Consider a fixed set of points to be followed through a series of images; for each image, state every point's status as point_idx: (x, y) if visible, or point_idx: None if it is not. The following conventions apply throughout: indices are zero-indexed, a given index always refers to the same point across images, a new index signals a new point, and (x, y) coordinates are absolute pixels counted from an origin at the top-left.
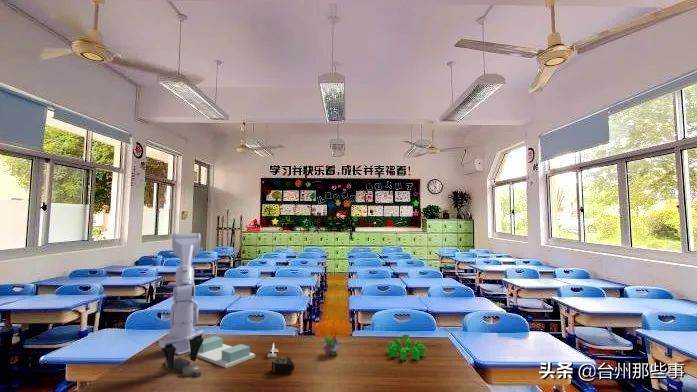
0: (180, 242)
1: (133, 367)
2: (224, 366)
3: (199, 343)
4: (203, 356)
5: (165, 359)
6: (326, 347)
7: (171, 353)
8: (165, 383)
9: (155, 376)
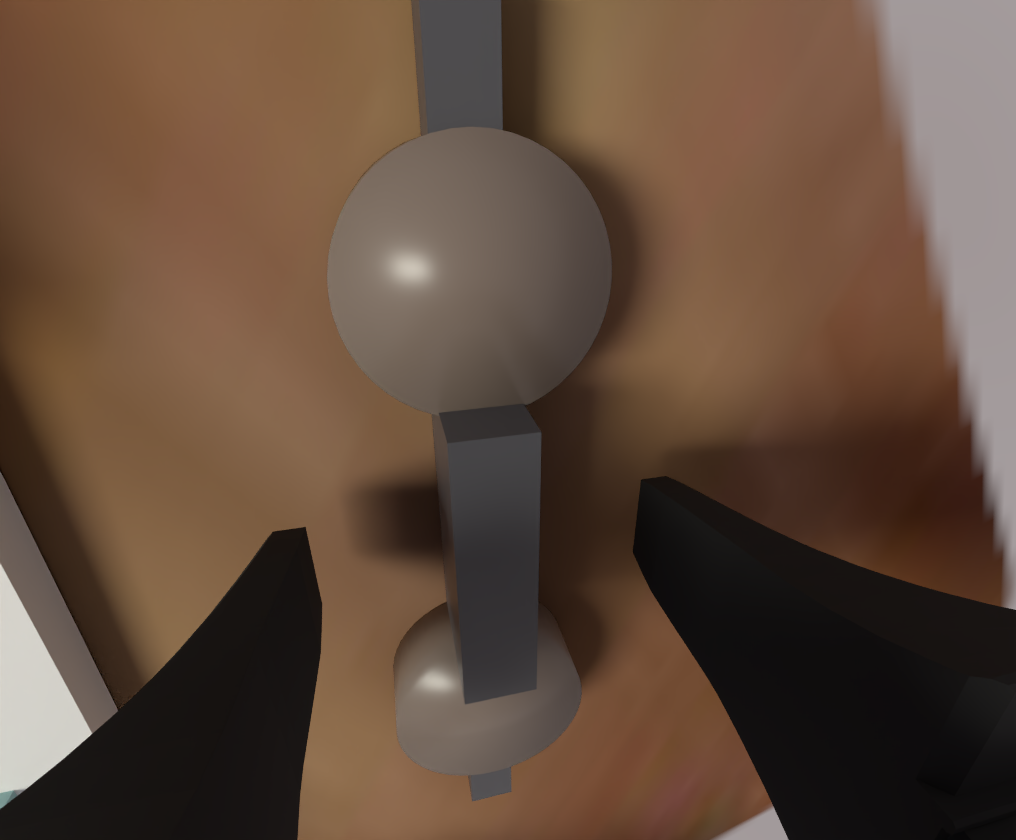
0: None
1: (701, 783)
2: None
3: (81, 826)
4: (59, 669)
5: (506, 789)
6: None
7: (919, 599)
8: (836, 218)
9: (746, 504)
